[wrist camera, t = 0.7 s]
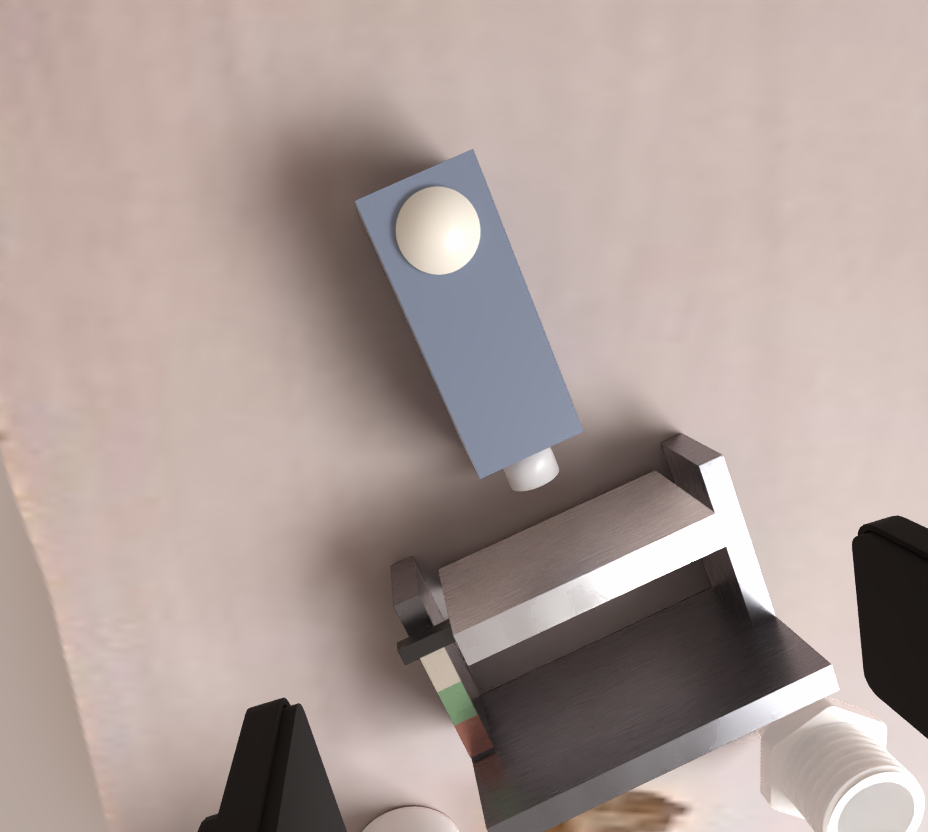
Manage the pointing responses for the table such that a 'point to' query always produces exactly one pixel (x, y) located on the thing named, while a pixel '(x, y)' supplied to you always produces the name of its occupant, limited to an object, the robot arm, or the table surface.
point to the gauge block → (473, 318)
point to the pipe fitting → (837, 771)
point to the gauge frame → (628, 681)
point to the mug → (412, 821)
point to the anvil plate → (567, 567)
